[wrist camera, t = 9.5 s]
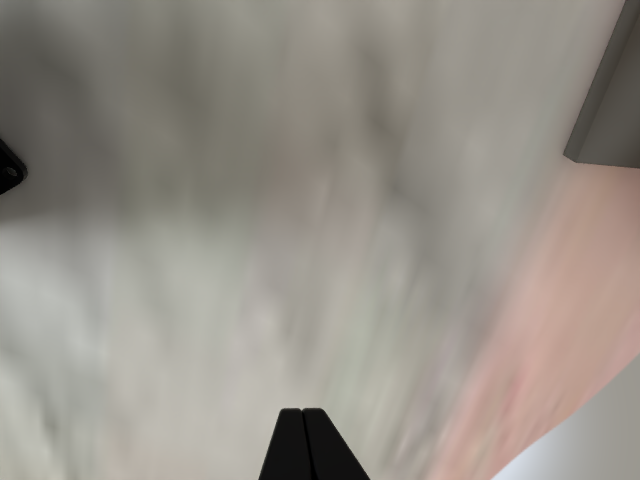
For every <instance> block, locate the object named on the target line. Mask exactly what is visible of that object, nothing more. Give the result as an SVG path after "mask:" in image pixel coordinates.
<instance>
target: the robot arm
mask: <svg viewBox="0 0 640 480" xmlns="http://www.w3.org/2000/svg"><path fill="white" fill-rule="evenodd" d="M7 167H8V168H12V169H14V170H15V171H16V173H17V176H14V175H11V174H10V173H9V172H8V171H7ZM27 174H28V171H27V167H26V166H25V164H24V163H23V162H22V161H21V160H20V159H19V158H18V157H17V156H16V155H15V154H14V153H13V152H12V151H11V149H10V148H9V147H8V146H7V145H6V144H5V143H4V142H3V141H2V140H1V139H0V195H1V194H3V193H5V192H6V191H8V190H10V189H12V188H13V187H15V186H17V185H18V184H20V183H21V182H22V181H23V180H24V179H25V178H26V177H27ZM258 480H370V478H369V477H368V475H367V474H366V472H365V471H364V469H363V468H362V466H361V465H360V463H359V462H358V460H357V459H356V457H355V456H354V454H353V453H352V451H351V450H350V448H349V447H348V445H347V444H346V442H345V441H344V439H343V438H342V436H341V435H340V433H339V432H338V430H337V429H336V427H335V426H334V424H333V423H332V421H331V420H330V418H329V417H328V415H327V414H326V412H325V411H324V410H323V409H321V408H304V409H303V410H302V411H301V409H299V408H284V409H281V411H280V413H279V416H278V419H277V422H276V425H275V428H274V432H273V435H272V438H271V441H270V444H269V447H268V451H267V454H266V457H265V460H264V463H263V466H262V470H261V473H260V476H259V479H258Z"/></svg>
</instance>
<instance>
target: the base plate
mask: <svg viewBox="0 0 640 480" xmlns="http://www.w3.org/2000/svg"><path fill="white" fill-rule="evenodd" d="M563 155H564V156H566V157H568V158H569V159H571V160H573V161H574V162H576V163H587V164H598V165H608V166H619V167H630V168H640V0H626V2H625V5H624V7H623V10H622V12H621V15H620V17H619V19H618V22H617V24H616V27H615V29H614V32H613V34H612V37H611V39H610V41H609V44H608V46H607V49H606V51H605V54H604V56H603V59H602V61H601V63H600V66H599V68H598V71H597V73H596V76H595V78H594V80H593V83H592V85H591V88H590V90H589V93H588V95H587V98H586V100H585V102H584V105H583V107H582V110H581V112H580V115H579V117H578V119H577V122H576V124H575V127H574V129H573V132H572V134H571V137H570V139H569V141H568V144H567V146H566V149H565V151H564V154H563Z"/></svg>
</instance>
